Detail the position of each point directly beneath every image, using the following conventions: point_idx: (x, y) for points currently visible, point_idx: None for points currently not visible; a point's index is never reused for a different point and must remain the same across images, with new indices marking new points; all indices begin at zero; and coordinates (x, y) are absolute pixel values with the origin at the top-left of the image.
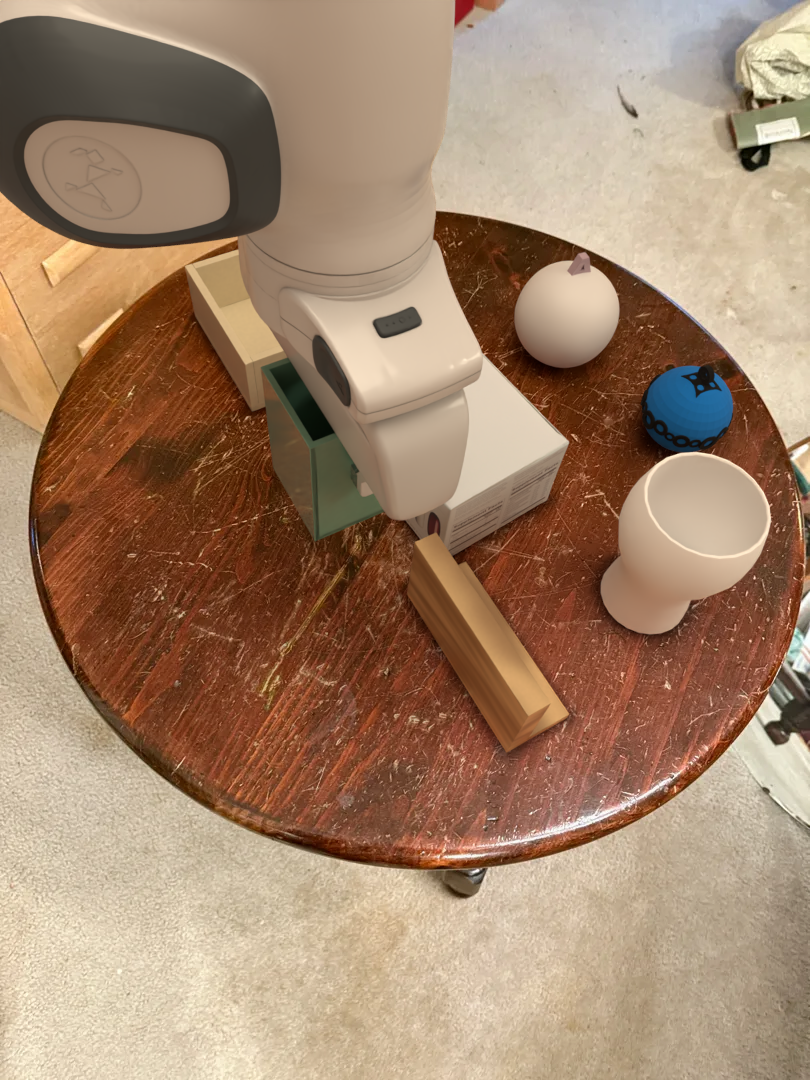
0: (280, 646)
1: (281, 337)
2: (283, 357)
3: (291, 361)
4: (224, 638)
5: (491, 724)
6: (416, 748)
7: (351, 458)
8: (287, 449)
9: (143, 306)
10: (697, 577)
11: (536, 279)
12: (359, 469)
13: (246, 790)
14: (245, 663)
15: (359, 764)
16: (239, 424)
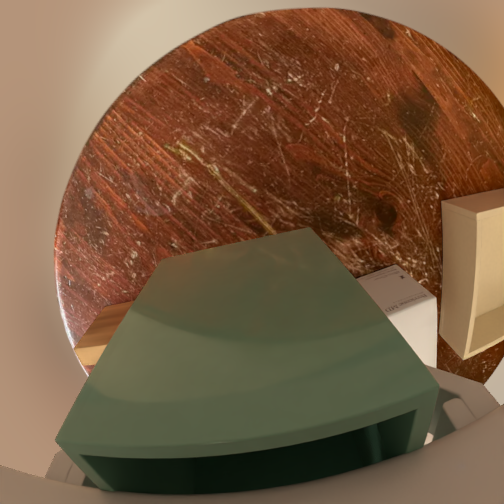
0: (216, 165)
1: (469, 483)
2: (471, 246)
3: (393, 478)
4: (236, 121)
5: (120, 305)
6: (114, 250)
7: (42, 482)
8: (237, 307)
9: None
10: None
11: (431, 434)
12: (8, 482)
13: (110, 123)
14: (208, 134)
15: (109, 207)
16: (433, 187)
